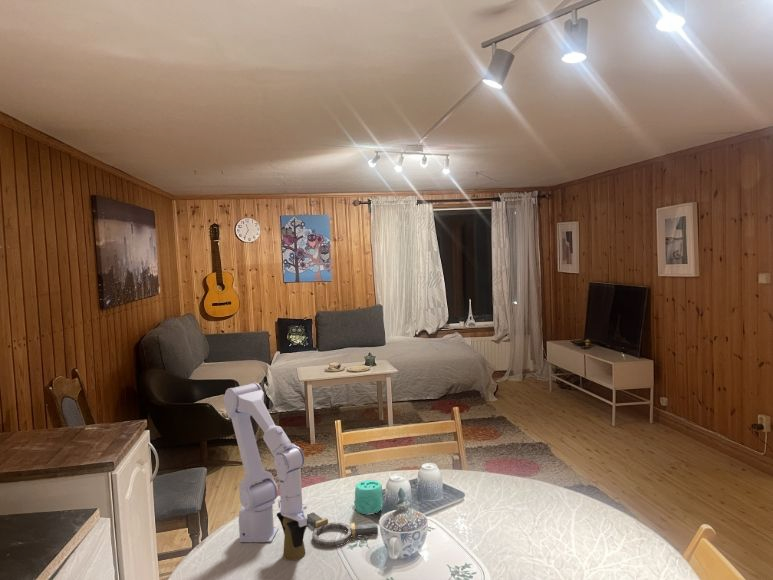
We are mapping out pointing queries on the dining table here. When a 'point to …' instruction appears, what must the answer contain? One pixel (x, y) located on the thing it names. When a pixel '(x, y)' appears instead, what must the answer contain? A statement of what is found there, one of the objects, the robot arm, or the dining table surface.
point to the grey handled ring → (324, 525)
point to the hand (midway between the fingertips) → (293, 541)
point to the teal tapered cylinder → (368, 496)
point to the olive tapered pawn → (291, 544)
